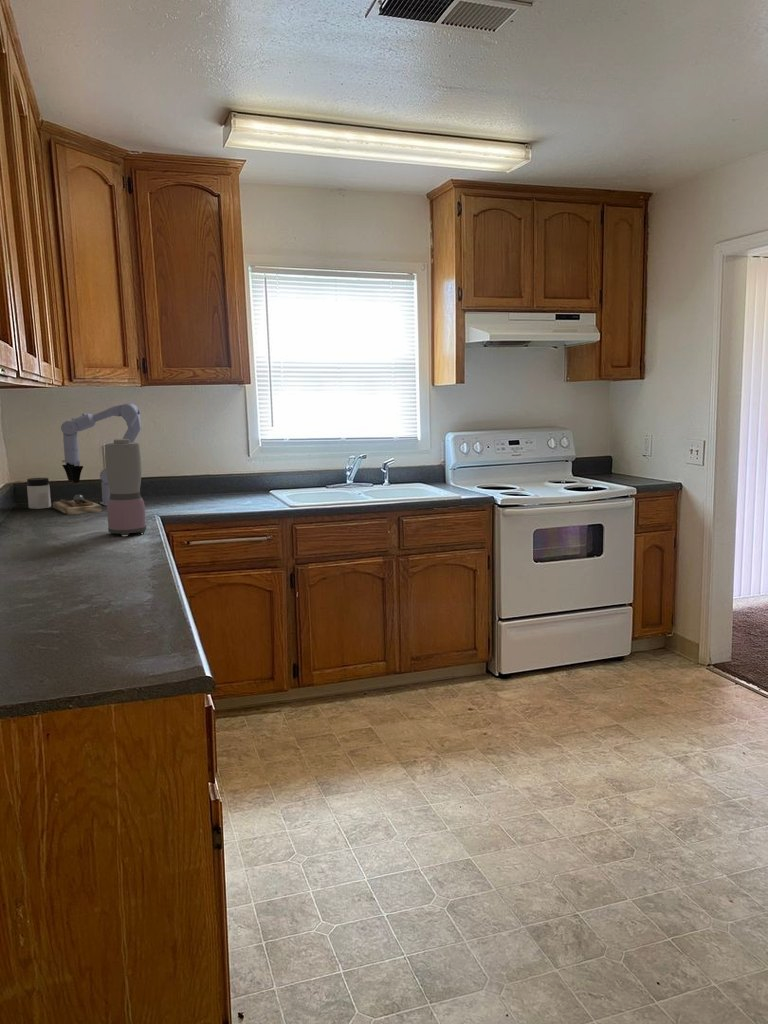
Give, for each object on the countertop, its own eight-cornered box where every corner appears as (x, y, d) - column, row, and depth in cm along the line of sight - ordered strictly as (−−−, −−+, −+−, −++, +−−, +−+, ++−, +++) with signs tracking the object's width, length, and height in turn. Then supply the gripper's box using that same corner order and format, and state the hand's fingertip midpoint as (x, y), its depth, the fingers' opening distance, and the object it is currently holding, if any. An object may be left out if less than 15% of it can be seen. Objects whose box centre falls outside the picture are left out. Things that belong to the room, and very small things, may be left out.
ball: (87, 500, 305) (82, 505, 307) (83, 492, 306) (78, 496, 308) (78, 501, 302) (73, 505, 304) (75, 492, 303) (70, 497, 305)
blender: (153, 533, 255) (147, 439, 249) (118, 538, 246) (112, 441, 241) (131, 527, 266) (126, 437, 260) (98, 532, 257) (91, 439, 252)
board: (85, 504, 318) (85, 496, 318) (101, 511, 301) (101, 503, 300) (53, 507, 311) (52, 499, 310) (67, 514, 293) (67, 506, 293)
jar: (32, 509, 306) (30, 480, 304) (25, 507, 312) (23, 478, 310) (54, 507, 312) (52, 478, 310) (47, 505, 318) (45, 477, 316)
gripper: (56, 449, 318) (59, 480, 320) (66, 451, 306) (68, 484, 308) (74, 448, 322) (76, 479, 324) (84, 450, 310) (86, 482, 313)
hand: (73, 481), depth 317 cm, fingers open, 7 cm apart
